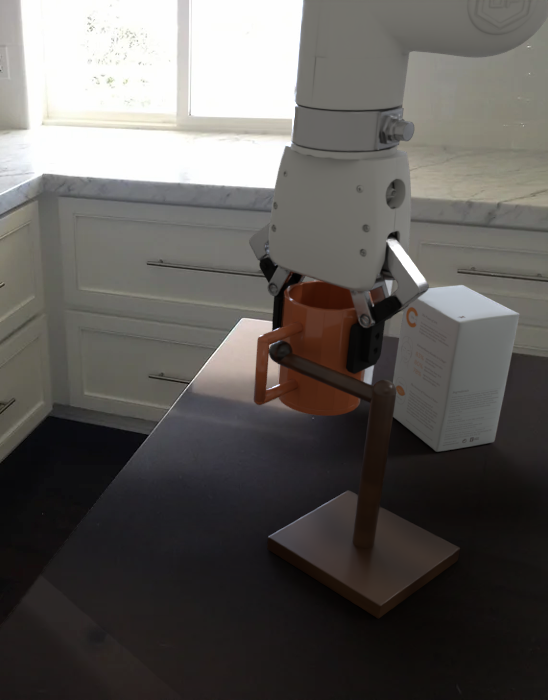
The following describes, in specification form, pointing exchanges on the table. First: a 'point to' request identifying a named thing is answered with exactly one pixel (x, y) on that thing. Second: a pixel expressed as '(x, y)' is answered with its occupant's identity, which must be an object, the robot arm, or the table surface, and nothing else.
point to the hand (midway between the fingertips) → (322, 351)
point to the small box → (453, 366)
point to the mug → (310, 349)
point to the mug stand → (361, 515)
